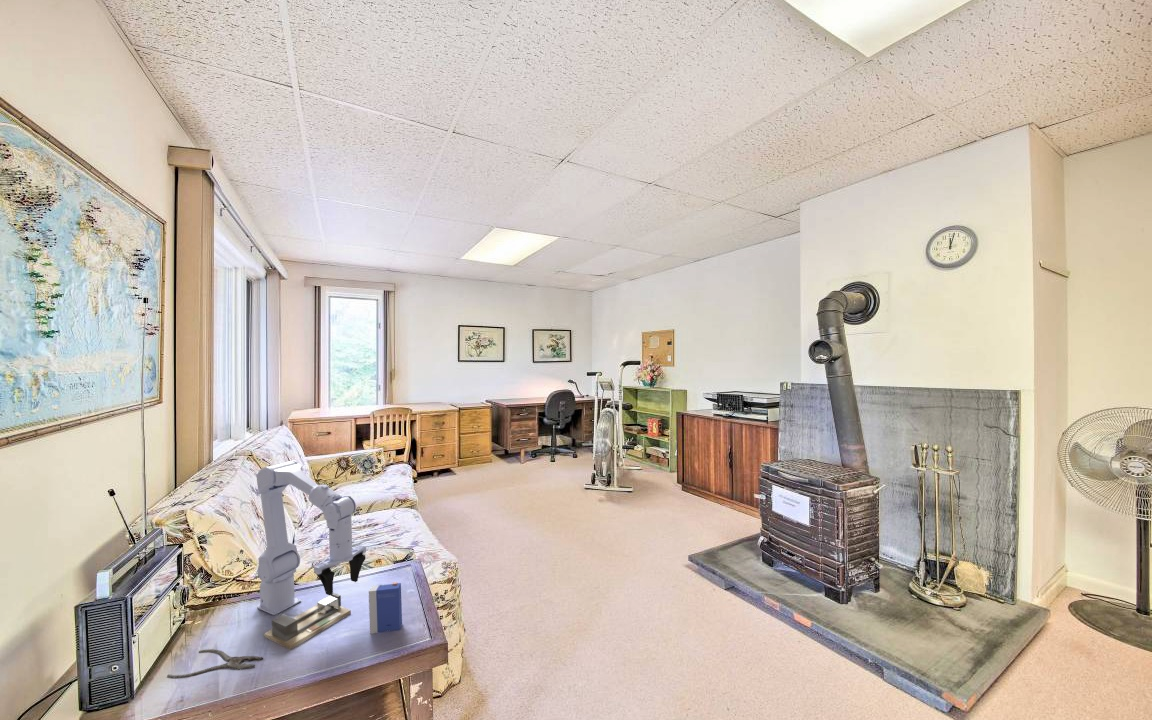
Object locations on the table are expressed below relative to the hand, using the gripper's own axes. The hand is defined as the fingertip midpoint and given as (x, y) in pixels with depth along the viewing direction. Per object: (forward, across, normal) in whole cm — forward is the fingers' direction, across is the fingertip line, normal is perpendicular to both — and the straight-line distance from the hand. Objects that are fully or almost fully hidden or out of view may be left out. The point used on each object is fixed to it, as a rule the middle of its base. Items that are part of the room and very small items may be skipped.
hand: (342, 587), depth 122 cm
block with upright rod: (+8, 0, +5) cm, 10 cm away
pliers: (+10, -24, +12) cm, 28 cm away
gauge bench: (+10, -6, +7) cm, 13 cm away
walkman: (+10, +3, -15) cm, 18 cm away
